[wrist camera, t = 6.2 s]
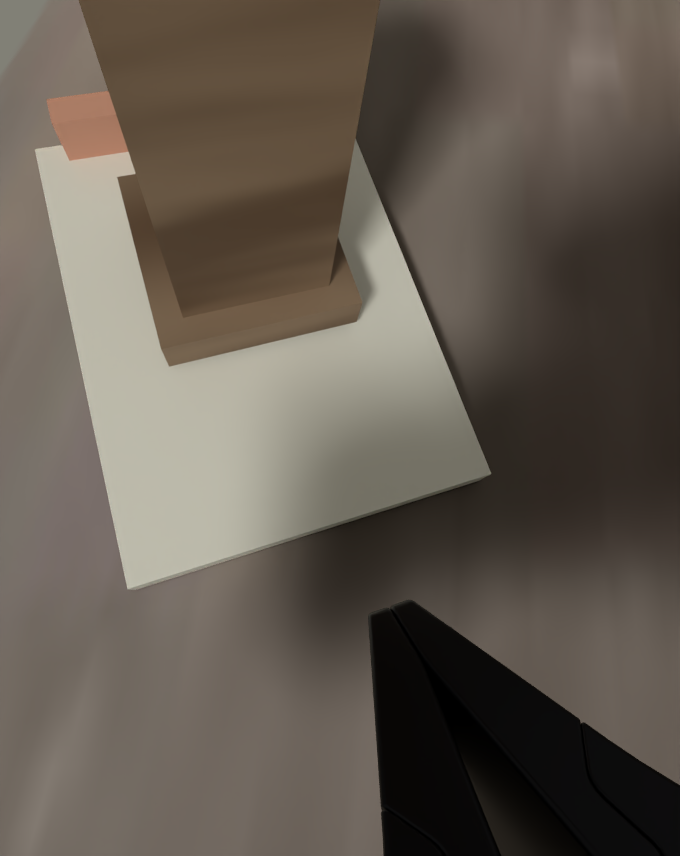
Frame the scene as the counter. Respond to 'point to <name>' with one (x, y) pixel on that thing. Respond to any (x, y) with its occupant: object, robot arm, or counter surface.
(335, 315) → the brown wooden pedestal
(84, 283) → the thin white base plate
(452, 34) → the counter surface
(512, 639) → the counter surface
